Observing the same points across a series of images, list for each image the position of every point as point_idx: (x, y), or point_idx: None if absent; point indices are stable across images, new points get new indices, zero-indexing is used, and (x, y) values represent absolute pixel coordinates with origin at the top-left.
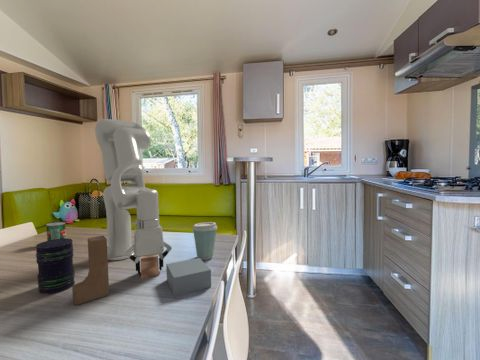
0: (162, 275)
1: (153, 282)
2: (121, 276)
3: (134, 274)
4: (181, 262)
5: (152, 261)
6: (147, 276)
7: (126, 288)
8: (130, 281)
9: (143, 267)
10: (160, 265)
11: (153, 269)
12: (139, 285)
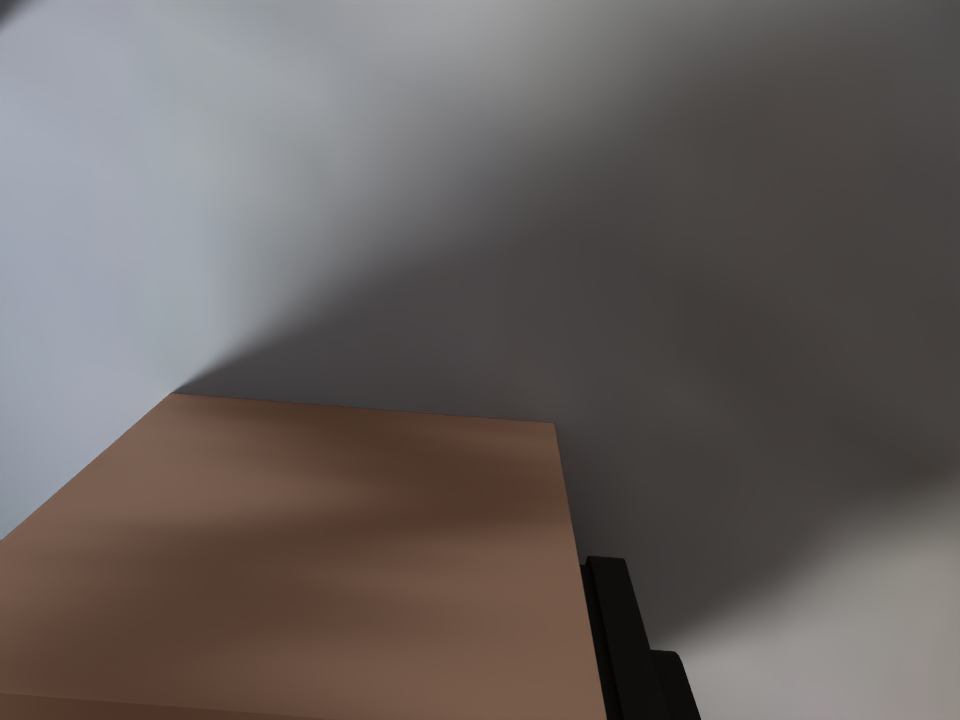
0: (91, 368)
1: (297, 72)
2: (901, 685)
3: None
4: None
5: (125, 670)
6: (417, 421)
7: (944, 37)
8: (787, 383)
9: (498, 571)
10: None
11: (226, 488)
12: (634, 61)
